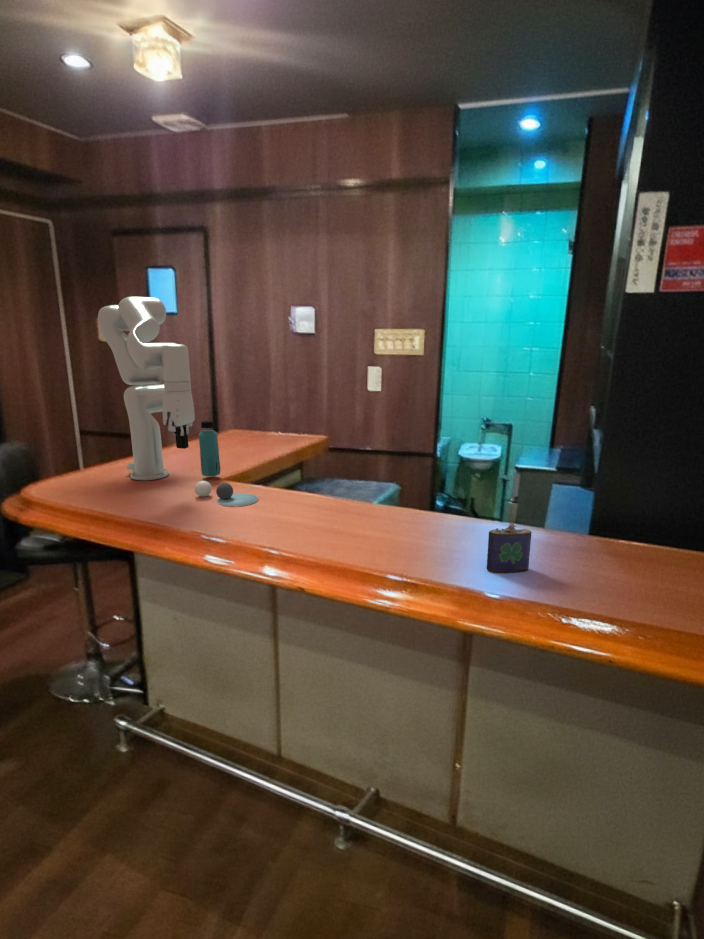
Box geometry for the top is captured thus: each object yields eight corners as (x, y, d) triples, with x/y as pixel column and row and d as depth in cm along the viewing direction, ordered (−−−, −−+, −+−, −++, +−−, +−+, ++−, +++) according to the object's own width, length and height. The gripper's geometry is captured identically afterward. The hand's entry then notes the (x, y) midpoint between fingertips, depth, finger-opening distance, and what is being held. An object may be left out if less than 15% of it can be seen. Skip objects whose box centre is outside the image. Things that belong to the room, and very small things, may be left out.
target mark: (209, 504, 157) (209, 503, 157) (230, 492, 169) (230, 492, 168) (246, 508, 154) (246, 507, 154) (265, 496, 165) (265, 495, 165)
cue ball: (194, 479, 162) (208, 486, 161) (203, 476, 166) (216, 483, 166) (189, 494, 163) (203, 501, 162) (198, 490, 168) (211, 497, 167)
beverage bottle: (218, 480, 182) (214, 422, 177) (198, 480, 182) (194, 422, 177) (223, 475, 188) (219, 419, 183) (204, 475, 188) (200, 419, 183)
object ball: (210, 489, 160) (222, 482, 158) (219, 484, 165) (231, 478, 163) (218, 504, 161) (230, 497, 159) (227, 499, 165) (239, 492, 163)
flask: (525, 566, 117) (529, 520, 114) (531, 572, 114) (535, 525, 111) (484, 568, 116) (487, 521, 113) (489, 574, 113) (492, 526, 111)
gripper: (181, 384, 166) (186, 442, 171) (150, 389, 152) (156, 452, 157) (202, 385, 164) (206, 443, 168) (173, 390, 150) (178, 454, 155)
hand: (182, 447), depth 163 cm, fingers closed
